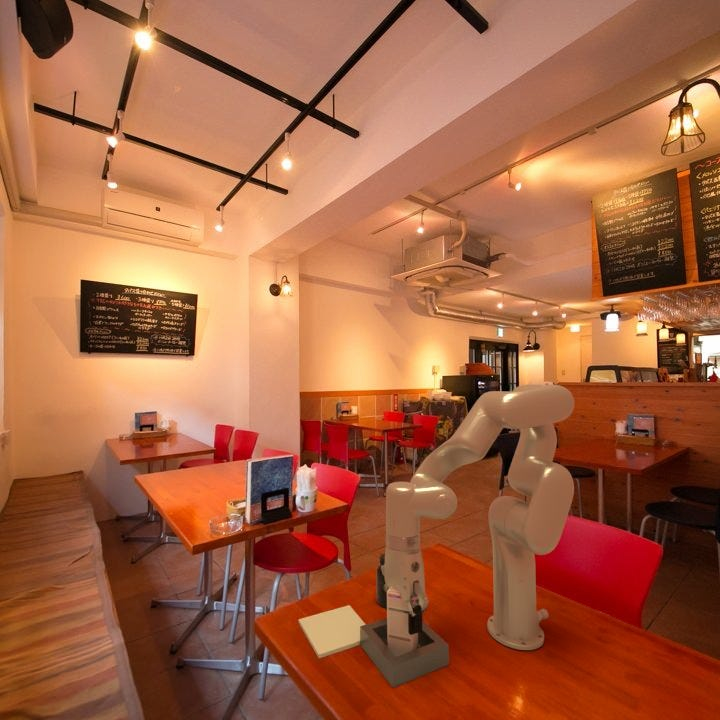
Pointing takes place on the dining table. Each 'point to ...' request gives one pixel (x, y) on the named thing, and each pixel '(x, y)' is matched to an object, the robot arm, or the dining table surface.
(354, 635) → the pad
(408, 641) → the syrup box
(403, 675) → the collar
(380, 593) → the supplement bottle
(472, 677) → the dining table surface
